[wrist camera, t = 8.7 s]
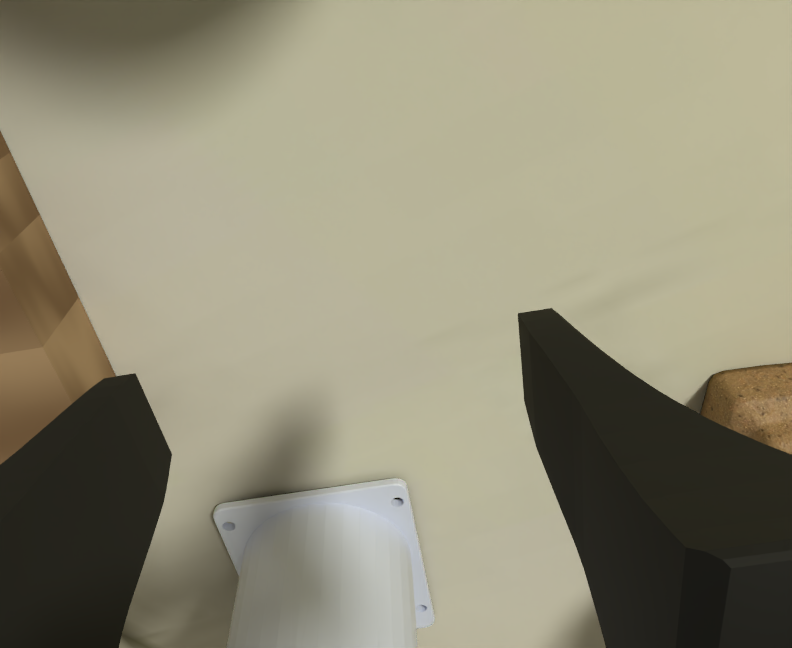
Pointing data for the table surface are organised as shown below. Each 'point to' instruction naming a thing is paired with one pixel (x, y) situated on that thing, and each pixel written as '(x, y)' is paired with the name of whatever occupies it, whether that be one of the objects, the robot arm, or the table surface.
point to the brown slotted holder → (37, 321)
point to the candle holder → (753, 403)
